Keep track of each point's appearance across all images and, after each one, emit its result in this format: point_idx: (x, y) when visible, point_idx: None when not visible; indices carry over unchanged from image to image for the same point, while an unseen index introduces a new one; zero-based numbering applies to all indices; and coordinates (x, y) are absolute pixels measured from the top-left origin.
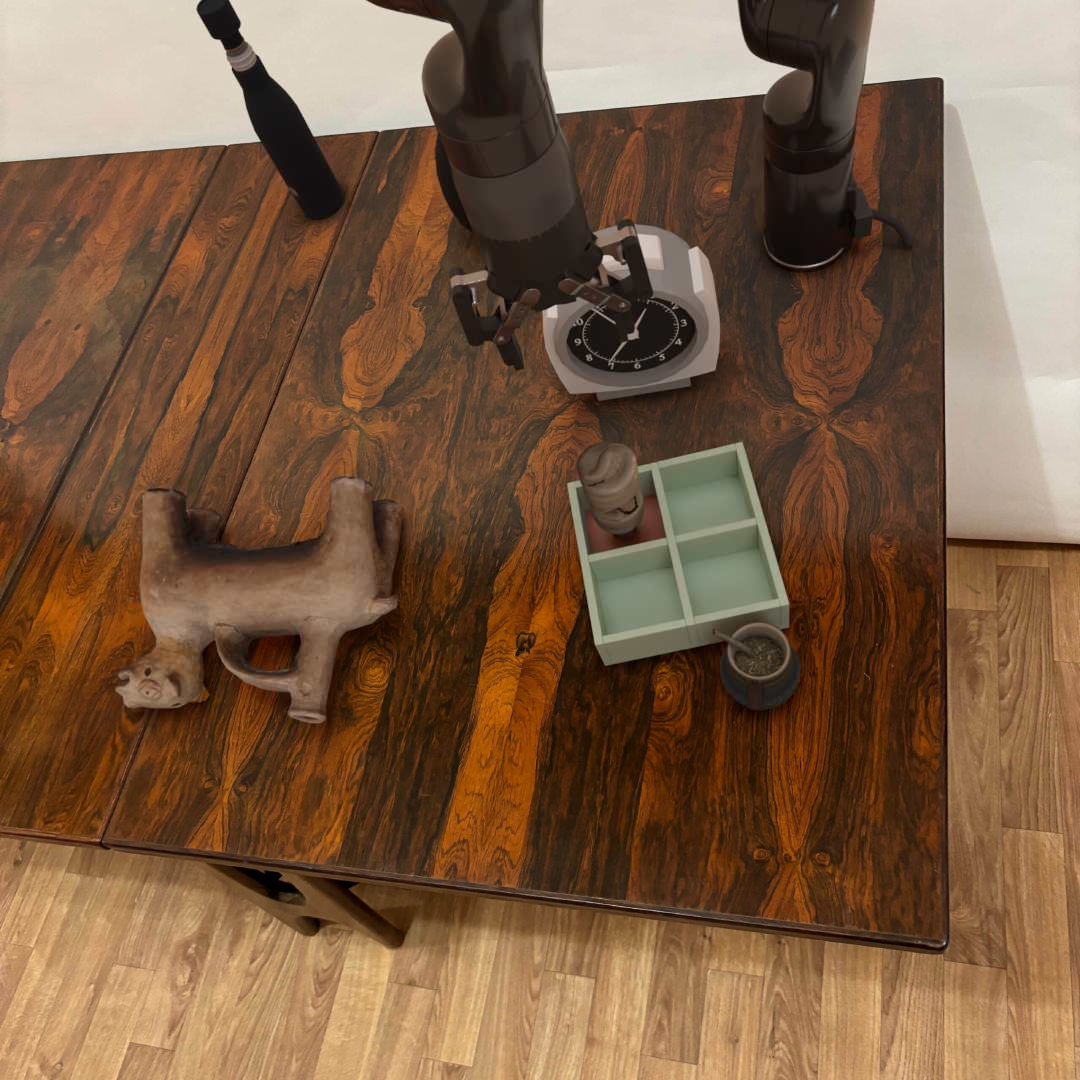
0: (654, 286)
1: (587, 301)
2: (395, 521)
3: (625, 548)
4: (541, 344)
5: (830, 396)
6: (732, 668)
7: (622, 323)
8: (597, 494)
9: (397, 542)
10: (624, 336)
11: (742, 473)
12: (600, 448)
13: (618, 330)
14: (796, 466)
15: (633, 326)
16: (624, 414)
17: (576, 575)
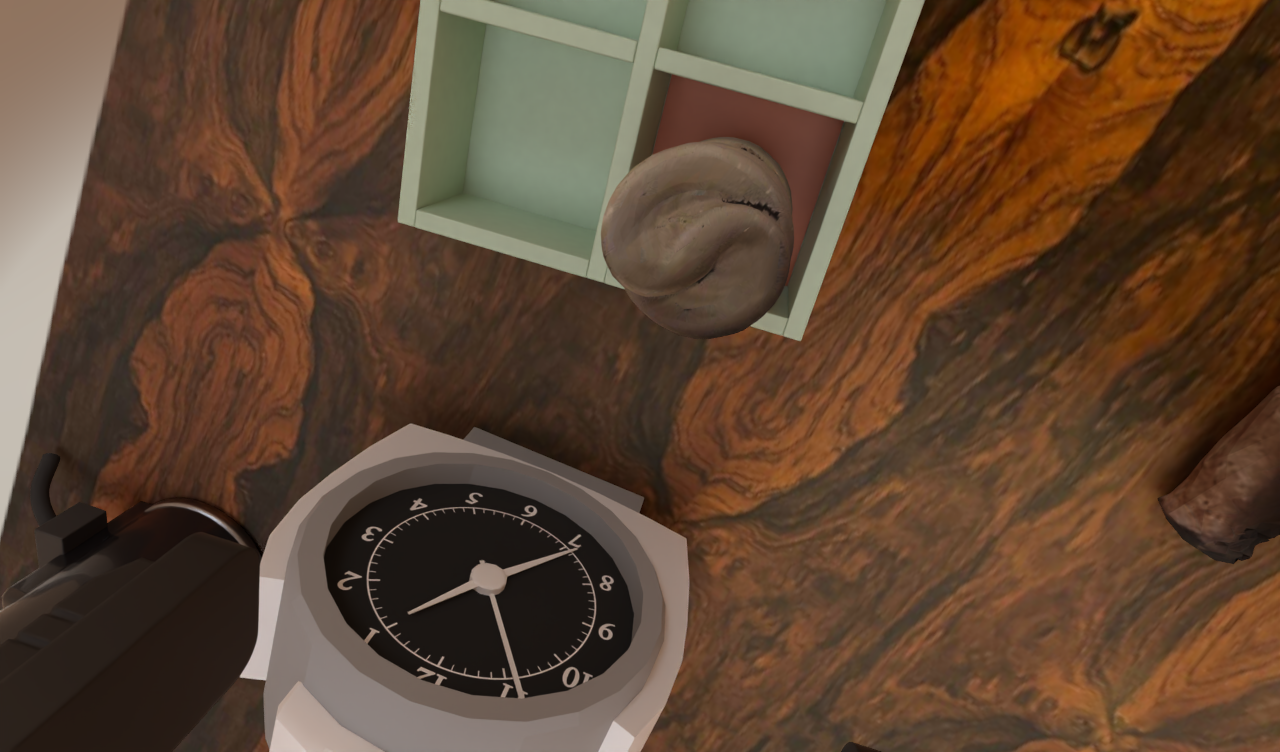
0: (327, 657)
1: (509, 725)
2: (1216, 487)
3: (759, 91)
4: (687, 656)
5: (254, 265)
6: None
7: (46, 661)
8: (768, 175)
9: (1236, 439)
10: (175, 568)
11: (427, 148)
12: (685, 312)
13: (137, 628)
14: (358, 156)
15: (82, 594)
16: (612, 444)
17: (883, 151)
